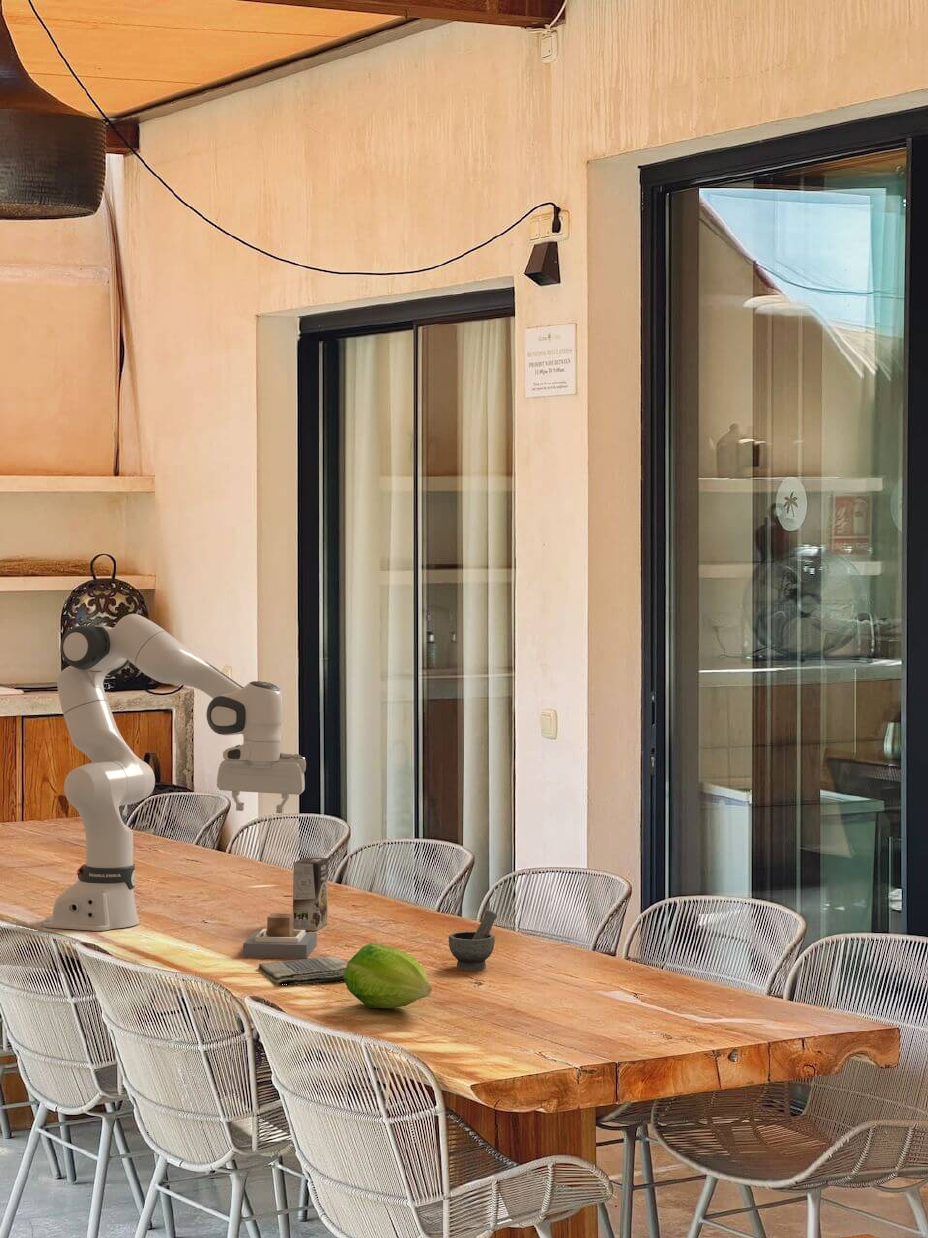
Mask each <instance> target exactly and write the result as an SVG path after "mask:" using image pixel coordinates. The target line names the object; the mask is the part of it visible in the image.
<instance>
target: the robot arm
mask: <svg viewBox="0 0 928 1238" xmlns="http://www.w3.org/2000/svg"><path fill="white" fill-rule="evenodd" d="M59 649H60V653H61V654H60V655H61V656H62V659H63V660H64V662H66V664H67V665H69V666H67V667H65V668H63V670H62V671H60V673H58V676H57V678H56V679H57V680H56V683H57V684H56V685H57V693H58V698H59V699H58V700H59V704H60V707H61V711H62V715H63V718H64V721H65V724H66V727H67V731H68V733H69V737H70V741H71V743H72V745H73V746H74V747H75V748H76V750H78V751H80V752H82V753H83V754H84V755H85V756H86V757H87V758H88V759H89V760H90V761H91V762H90V763H85V764H83V765H81V766H78V767H76V768H74V769H72V770H71V771H70V772H68V773H67V775H66V777H65V779H64V784H63V785H64V786H63V790H64V794H65V797H66V800H67V801H68V803H69V804H70V805H71V806H72V807H74V808H75V809H76V811H77V812H78V814H79V816H80V818H81V821H82V823H83V824H82V825H83V827H84V834H85V862H86V863H83V864H82V865H80V867H79V868H78V869H77V870H76V876H77V878H78V880H77V881H76V882H75V883H73V884H72V885H71V886H69V887H68V888H67V889H66V890H64V891H63V892H62V893H61V894H60V895H59V896H57V898H56V899H55V901H54V905H53V910H52V915H50V916H47V917H45V918H44V919H43V922H42V926H43V928H51V929H52V928H54V929H66V930H68V929H69V930H82V931H94V932H95V931H96V932H101V931H108V930H113V929H115V930H116V929H124V928H129V927H134V926H136V925H139V924H140V921H141V920H140V918H139V915H138V911H137V906H136V897H135V887H136V864H135V863H134V832H133V831H132V829H131V828H130V827H129V826H128V825H126V824H125V822H124V821H123V819H122V816H121V813H120V807H121V806H128V805H133V804H136V803H138V802H141V801H142V800H145V799H147V798H149V796H150V795H151V794H152V793H153V792H154V789H155V786H156V777H155V773H154V771H153V768H152V767H151V766H150V765H149V764H148V763H147V762H145V761H144V760H142V759H141V758H140V757H138V756H137V755H136V754H135V753H134V751H133V750H132V749H131V748H130V746H129V745H128V743H127V742H126V741H125V740H124V738H123V736H122V735H121V732H120V731H119V729H118V726H117V723H116V720H115V718H114V717H115V716H114V715H113V712H112V709H111V706H110V703H109V699H108V697H107V694H106V692H105V687H104V681H105V679H111V678H113V677H115V676H116V675H117V674H118V673H119V672H120V671H122V670H124V669H125V668H126V667H128V666H129V665H130V664H132V665H133V666H134V667H135V668H137V669H138V670H139V671H140V672H142V673H143V674H144V675H145V676H146V677H149V678H150V679H152V680H154V681H156V682H159V683H161V684H167V685H169V684H170V685H179V686H185V687H190V688H194V689H196V690H198V691H201V692H203V693H204V694H206V695H207V696H208V697H210V698H211V699H212V700H211V701H209V704H208V706H207V709H206V715H205V716H206V721H207V724H208V726H209V728H210V729H211V730H212V731H213V733H215V734H218V735H222V736H234V735H235V736H236V735H242V737H243V744H238V745H235V746H231V747H228V748H227V749H225V750H223V751H222V758H223V760H222V761H221V762H220V764H219V766H218V771H217V776H216V787H217V788H218V790H219V791H224V792H225V791H227V792H231V797H232V799H233V801H234V804H236V805H235V810H236V811H237V812H242V811H244V807H245V802H241V800H240V798H239V795H240V793H241V792H242V793H243V792H244V793H259V794H261V793H263V794H276V795H277V794H279V795H280V794H281V799H283V800H282V801H281V803H280V804H276V808H275V809H276V810H275V812H276V813H277V814H284V811H285V805H286V804H287V802H288V800H289V798H290V795H295V796H297V795H299V796H300V795H302V793H303V792H304V791H305V788H306V786H305V785H306V784H305V783H306V781H305V772H306V770H307V761H306V758H305V757H303V756H301V755H300V754H298V753H295V754H292V753H283V752H282V743H283V742H282V741H283V740H282V739H283V738H282V734H281V731H282V724H283V721H284V720H283V719H284V718H283V717H284V716H283V715H284V709H283V708H284V705H283V695H282V692H281V689H280V688H279V686H277V685H276V684H274V683H270V682H266V681H259V680H256V681H250V682H248V683H247V684H246V685H245V686H243V685H241V684H239V683H237V682H236V681H235V680H233V678H232V679H231V677H229V676H228V675H227V674H225V673H223V672H222V671H220V670H219V669H217V668H216V667H215V666H213V665H212V664H210V663H209V662H208V661H205V660H204V659H202V658H201V657H200V656H198V654H195V653H194V652H193V651H191V649H189V648H188V647H186V646H185V645H184V644H183V643H181V642H180V641H179V640H178V639H176V638H175V637H174V636H173V635H172V634H170V633H169V632H167V630H166V629H164V628H163V627H161V626H159V625H158V624H157V623H155V622H153V620H150V619H148V618H146V617H145V616H142V615H140V614H137V613H129V614H127V615H124V616H123V617H121V618H120V619H119V620H118V621H117V622H116V624H115V625H114V626H113V627H111V626H108V625H101V624H97V625H91V624H90V625H89V624H81V625H77V626H74V627H72V628H69V630H67V631H66V632H65V633H64V635H63V637H62V638H61V641H60V647H59Z"/></svg>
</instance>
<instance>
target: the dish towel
mask: <svg viewBox="0 0 928 1238" xmlns="http://www.w3.org/2000/svg"><path fill="white" fill-rule="evenodd" d="M347 963H348V962H347V961H345V960H342V959H340V958H338V957H335V956H320V957H319V956H318V957H314V958H313V957H312V958H307V959H291V960H289V959H288V960H283V961H274V962H272V961H270V962H266V963H265V962H264V963H263V962H262V963H259V964H258V965H259V966H258V970H259V971H260V972H261V973H262V974H263V973H264V974H265V975H266V976H265V975H264V976H265V977H266V978H267V979H268V978H269V979H268V980H269V981H271V982H272V983H273V984H274V985H276V986H277V985H278V986H277V987H281V986H280V985H282V984H283V985H284V984H287V985H286V986H288V985H290V986H299V985H298V984H309V985H314V984H313V983H315V984H317V983H319V984H320V983H321V985H323V984H324V983H325V984H337V982H339V983H342V982H341V981H343V982H345V980H344V974H345V970H346V967H347Z"/></svg>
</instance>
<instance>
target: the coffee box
mask: <svg viewBox="0 0 928 1238" xmlns="http://www.w3.org/2000/svg"><path fill="white" fill-rule="evenodd" d="M292 872H293V874H292V875H293V877H292V880H293V882H292V884H293V885H292V914H294V916H293V930H305V931H313V932H316V931H318V930H320V929H322V928H324V927H325V926H327V925H328V907H329V906H328V895H329V894H328V892H329V890H328V889H329V886H328V885H329V878H328V877H329V873H328V872H329V858H327V857H303V858H301V859H298V860H296V861H294V862H293V871H292Z"/></svg>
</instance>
